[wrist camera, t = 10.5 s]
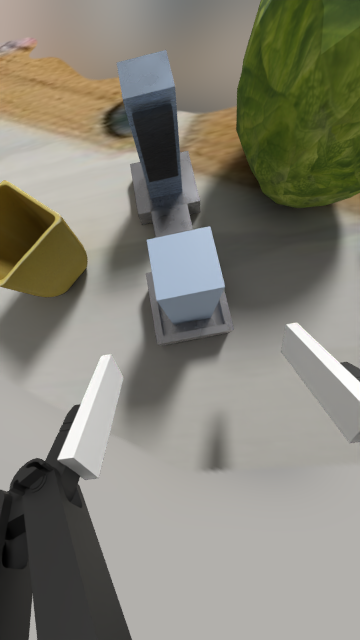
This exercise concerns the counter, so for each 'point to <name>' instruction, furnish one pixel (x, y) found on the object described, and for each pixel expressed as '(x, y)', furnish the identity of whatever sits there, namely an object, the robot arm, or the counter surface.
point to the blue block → (186, 274)
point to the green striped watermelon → (302, 101)
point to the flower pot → (36, 246)
